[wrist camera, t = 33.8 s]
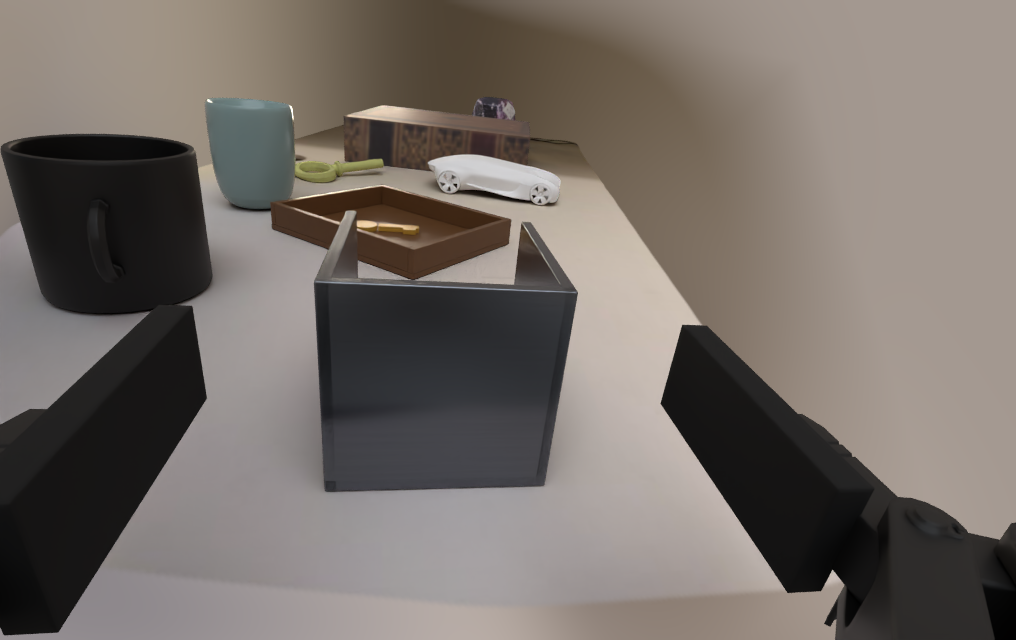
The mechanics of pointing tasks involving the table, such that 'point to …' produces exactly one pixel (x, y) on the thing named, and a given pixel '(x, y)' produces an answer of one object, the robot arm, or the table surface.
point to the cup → (252, 150)
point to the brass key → (387, 227)
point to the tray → (441, 224)
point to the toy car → (495, 177)
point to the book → (430, 137)
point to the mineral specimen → (494, 108)
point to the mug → (110, 219)
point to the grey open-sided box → (439, 372)
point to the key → (332, 169)
